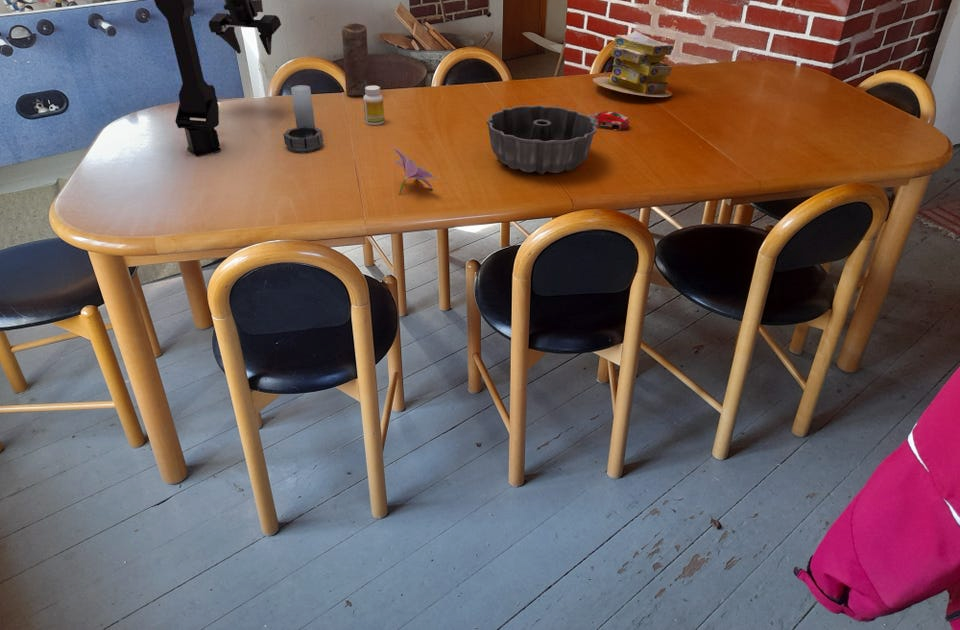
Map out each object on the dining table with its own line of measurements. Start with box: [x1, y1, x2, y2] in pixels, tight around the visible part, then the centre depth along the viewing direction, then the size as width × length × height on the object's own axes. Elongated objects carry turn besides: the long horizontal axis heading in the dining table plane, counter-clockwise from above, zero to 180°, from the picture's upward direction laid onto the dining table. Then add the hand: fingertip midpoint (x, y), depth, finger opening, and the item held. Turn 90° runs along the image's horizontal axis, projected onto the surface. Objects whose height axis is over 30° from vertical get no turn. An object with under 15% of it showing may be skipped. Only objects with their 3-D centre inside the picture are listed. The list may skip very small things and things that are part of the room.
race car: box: [585, 110, 630, 131], centre depth 192 cm, size 13×5×4 cm, turn 68°
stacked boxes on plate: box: [592, 30, 674, 98], centre depth 214 cm, size 25×25×17 cm
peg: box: [290, 84, 316, 128], centre depth 182 cm, size 5×5×12 cm
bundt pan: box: [486, 104, 598, 175], centre depth 169 cm, size 26×26×10 cm
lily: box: [391, 145, 436, 195], centre depth 155 cm, size 12×12×10 cm
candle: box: [341, 22, 371, 97], centre depth 208 cm, size 8×7×20 cm
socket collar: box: [282, 126, 324, 154], centre depth 177 cm, size 9×9×4 cm
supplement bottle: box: [362, 85, 385, 126], centre depth 191 cm, size 5×5×10 cm
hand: (254, 53), depth 193 cm, fingers open, 9 cm apart
